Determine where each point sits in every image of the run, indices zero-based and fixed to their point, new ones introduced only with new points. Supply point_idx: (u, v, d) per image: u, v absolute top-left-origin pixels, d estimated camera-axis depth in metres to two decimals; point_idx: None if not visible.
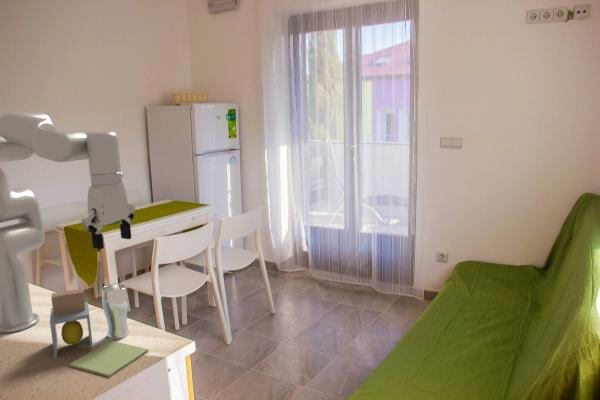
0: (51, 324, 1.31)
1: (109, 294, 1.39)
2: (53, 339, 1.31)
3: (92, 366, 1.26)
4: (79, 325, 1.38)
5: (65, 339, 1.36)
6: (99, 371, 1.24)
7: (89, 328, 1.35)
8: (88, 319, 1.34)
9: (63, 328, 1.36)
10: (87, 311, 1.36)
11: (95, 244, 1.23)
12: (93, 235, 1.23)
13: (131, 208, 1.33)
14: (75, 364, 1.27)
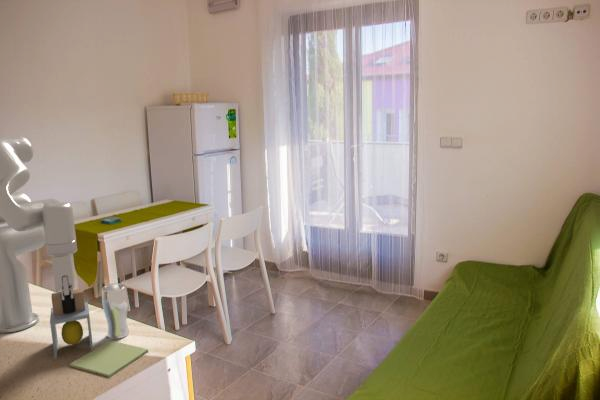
0: (51, 324, 1.31)
1: (109, 294, 1.39)
2: (53, 339, 1.31)
3: (92, 366, 1.26)
4: (79, 325, 1.38)
5: (65, 339, 1.36)
6: (99, 371, 1.24)
7: (89, 328, 1.35)
8: (88, 319, 1.34)
9: (63, 328, 1.36)
10: (87, 311, 1.36)
11: (69, 309, 1.34)
12: (67, 301, 1.33)
13: None
14: (75, 364, 1.27)
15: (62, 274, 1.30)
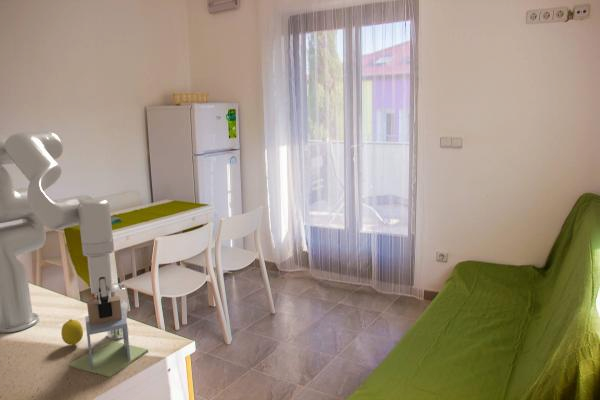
0: (88, 334, 1.23)
1: (109, 294, 1.39)
2: (90, 350, 1.24)
3: None
4: (79, 325, 1.38)
5: (65, 339, 1.36)
6: (99, 371, 1.24)
7: (127, 338, 1.27)
8: (126, 329, 1.27)
9: (63, 328, 1.36)
10: (124, 320, 1.29)
11: (106, 313, 1.25)
12: (104, 305, 1.24)
13: None
14: (75, 364, 1.27)
15: (99, 275, 1.21)
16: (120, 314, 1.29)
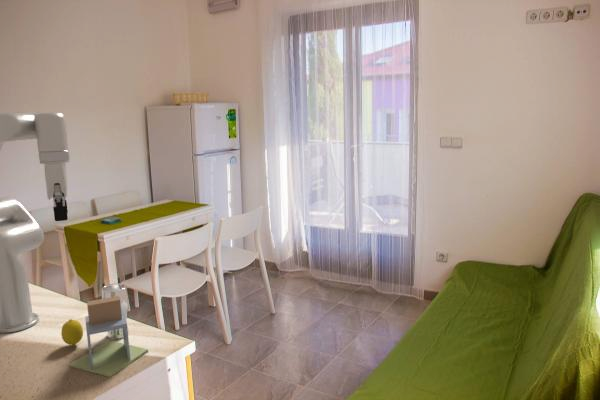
0: (88, 334, 1.23)
1: (109, 294, 1.39)
2: (90, 350, 1.24)
3: None
4: (79, 325, 1.38)
5: (65, 339, 1.36)
6: (99, 371, 1.24)
7: (127, 338, 1.27)
8: (126, 329, 1.27)
9: (63, 328, 1.36)
10: (124, 320, 1.29)
11: (61, 216, 1.33)
12: (59, 208, 1.32)
13: None
14: (75, 364, 1.27)
15: (54, 181, 1.32)
16: (120, 314, 1.29)
